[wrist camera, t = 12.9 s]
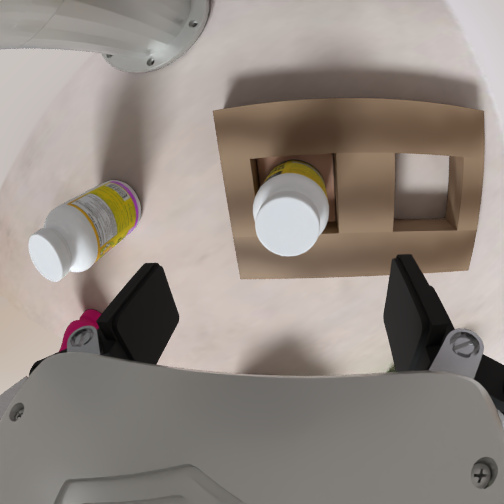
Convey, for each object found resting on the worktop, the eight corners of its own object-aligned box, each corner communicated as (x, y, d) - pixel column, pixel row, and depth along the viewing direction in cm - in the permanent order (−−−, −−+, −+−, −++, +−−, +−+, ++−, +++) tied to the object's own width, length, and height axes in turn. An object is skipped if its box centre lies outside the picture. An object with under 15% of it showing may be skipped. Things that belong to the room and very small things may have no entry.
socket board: (222, 110, 24) (212, 110, 21) (468, 109, 19) (483, 110, 16) (246, 264, 31) (240, 279, 28) (457, 256, 26) (468, 270, 23)
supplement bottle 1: (107, 233, 33) (38, 289, 21) (93, 183, 30) (13, 226, 19) (150, 229, 31) (80, 294, 20) (136, 173, 28) (51, 218, 17)
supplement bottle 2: (282, 147, 24) (268, 167, 16) (335, 176, 24) (350, 213, 16) (256, 197, 27) (230, 242, 18) (306, 224, 27) (304, 280, 19)
